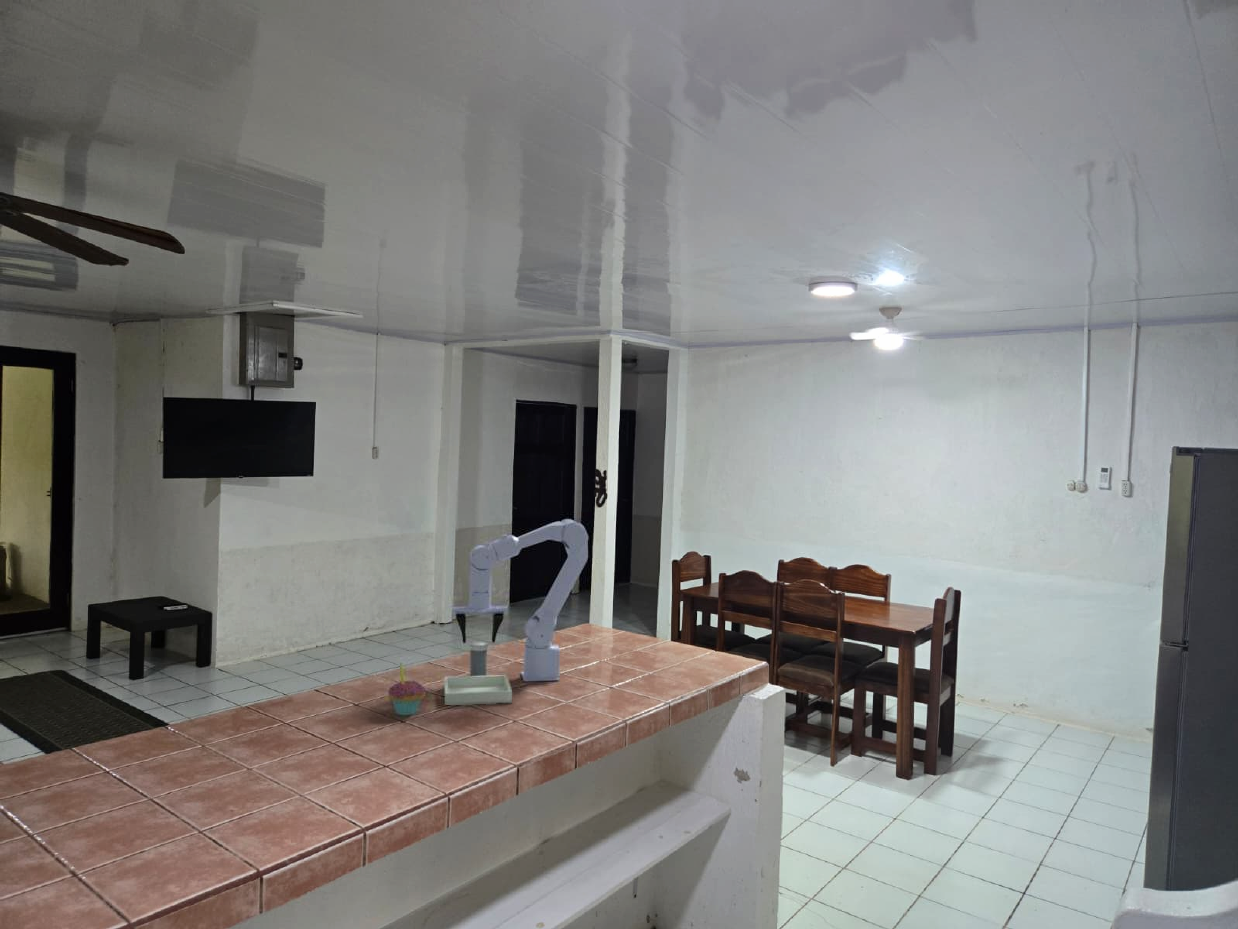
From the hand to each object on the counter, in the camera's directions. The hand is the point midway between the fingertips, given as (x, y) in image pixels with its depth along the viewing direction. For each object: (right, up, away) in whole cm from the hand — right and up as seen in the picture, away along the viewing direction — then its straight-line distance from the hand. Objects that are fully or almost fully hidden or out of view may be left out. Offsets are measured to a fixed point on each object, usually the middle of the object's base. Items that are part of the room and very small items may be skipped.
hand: (478, 641), depth 219 cm
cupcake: (-13, -11, -26) cm, 31 cm away
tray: (+2, -11, -12) cm, 17 cm away
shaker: (0, -10, 0) cm, 10 cm away
